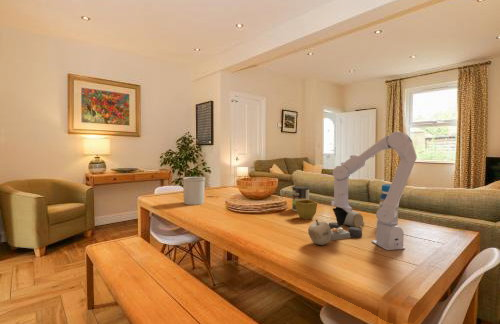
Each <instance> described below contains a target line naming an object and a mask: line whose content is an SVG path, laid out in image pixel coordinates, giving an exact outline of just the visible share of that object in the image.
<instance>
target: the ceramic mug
mask: <svg viewBox="0 0 500 324" xmlns="http://www.w3.org/2000/svg"><path fill="white" fill-rule="evenodd" d="M344 225H347V226H348V227H349V226H350V227H357V228H360V227H361V226H364V225H365V221H364V217H363V215H362V214H361V213H359V212H357V211H354V210H352V212H349V213H348V214H347V216H346V219H345V222H344Z"/></svg>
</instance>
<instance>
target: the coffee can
mask: <svg viewBox="0 0 500 324" xmlns="http://www.w3.org/2000/svg"><path fill="white" fill-rule="evenodd" d="M291 188H292V201H291V202H292V205H291V206H292V208H291V210H292V211H294V212H297V210H296V202H295V201H298V200H310V187H309V186H307V185H294V186H293V185H292V187H291Z"/></svg>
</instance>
